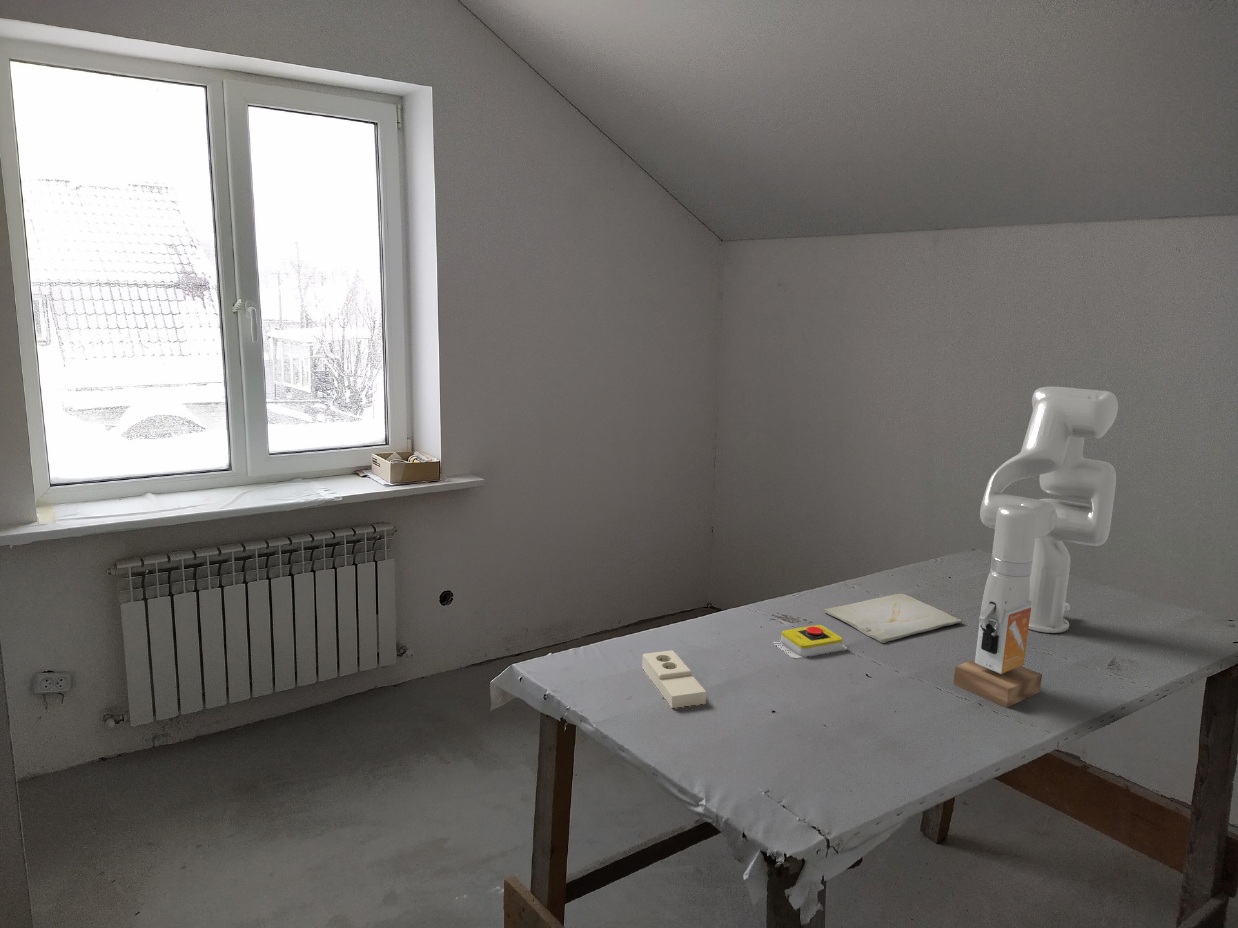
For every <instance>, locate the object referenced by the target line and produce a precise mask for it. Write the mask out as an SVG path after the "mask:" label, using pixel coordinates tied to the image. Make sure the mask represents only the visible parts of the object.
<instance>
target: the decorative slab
mask: <svg viewBox="0 0 1238 928" xmlns="http://www.w3.org/2000/svg"><path fill="white" fill-rule="evenodd" d="M823 612H824V613H825V614H828V615H829V616H832V617H833V618H836V619H838V620H839V621H842V622H844V623H846V624H848V625H849V626H851V627H853V628H854V629H856V630H857V631H858V632H860V633H862V634H863V635H865V636H867V637H869V638H872V639H874V640H876V641H878V642H879V643H880V644H886V643H888V642H892V641H895V640H899V639H902V638H905V637H908V636H911V635H915V634H919V633H920V634H921V633H925V632H929V631H933V630H936V629H940V628H942V627H943V628H944V627H946V626H947V627H948V626H952V625H955V624H962V623H963V620H962V619H960V618H958V617H955V616H953V615H951V614H949V613H946V612H945V611H943V610H941V609H938V608H936V607H935V606H932V605H930V604H927V603H925V602H923V601H921V600H918V599H916V598H914V597H912V596H909V595H907V594H904V593H895V594H890V595H886V596H882V597H877V598H876V597H875V598H872V599H867V600H863V601H857V602H853V603H849V604H844V605H838V606H834V607H828V608H825V609H823Z"/></svg>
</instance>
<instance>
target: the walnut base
mask: <svg viewBox="0 0 1238 928" xmlns="http://www.w3.org/2000/svg"><path fill="white" fill-rule="evenodd" d="M1042 677H1043V674H1042V673H1039V672H1038V671H1034V670H1032V669H1031V668H1030V669H1029V668H1027V667H1024V666H1019V667H1017V668H1014V669H1012V670H1009V671H1007V672H1005V673H1003V674H1000V673H998V672H995V671H993V670H990V669H988V668H986V667H983V666H981V665H979V664H976V663H975V658H974V659H970V660H967V661H966V662H963V663H960V664H958V665H956V666H955V667H954V675H953V685H954V686H957V687H959V688H961V689H964V690H965V691H968V692H970V693H972V694H975V695H976V696H979V697H982V698H984V699H986V700H988V701H990V702H992V703H994V704H997V705H999V706H1002V707H1004V708H1006V709H1007V708H1009V707H1012V706H1013V705H1015V704H1017V703H1019V702H1022V701H1024V700H1026V699H1029V698H1030V697H1032V696H1034V695H1037V694H1040V692H1041V687H1042V686H1041V685H1042V679H1043V678H1042Z"/></svg>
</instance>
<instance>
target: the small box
mask: <svg viewBox="0 0 1238 928" xmlns="http://www.w3.org/2000/svg"><path fill="white" fill-rule="evenodd" d="M995 612H996V611H995ZM995 612H994V614H993V615H992V616H991V617H990V618H993V619H996V620H998V618H997V616H996V613H995ZM1030 614H1031V607H1030V606H1025V607H1022V608H1020V609H1017V610H1014V611H1011V612H1008V613H1005V617H1004V621H1003V623H1002V624H1000V627H999V631H998V633H997V635H998V636H999V640H998V648H997V653H996V654H992V653H990V652H987V651H985V650H982V649H981V645H982V636H983V632H982V628H981V626H980V622H979V624H978V625H979V626H978V630H977V631H978V633H977V634H978V635H977V642H976V643H977V644H976V649H975V658H974V659H975V663H976V664H979V665H981V666H983V667H986V668H988V669H990V670H993V671H995V672H998V673H1000V674H1003V673H1005V672H1007V671H1009V670H1012V669H1014V668H1017V667H1019V666H1022V667H1024V665H1025V657H1026V651H1027V650H1026V649H1027V642H1028V641H1027V640H1028V635H1029V630H1030V629H1029V622H1030ZM980 615H981V613H980ZM989 624H991V626H992V627H993V629H994V626H995V624H996V623H994V622H991V621H990V623H989Z"/></svg>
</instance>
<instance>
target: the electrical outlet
mask: <svg viewBox="0 0 1238 928" xmlns="http://www.w3.org/2000/svg"><path fill="white" fill-rule="evenodd" d="M641 659H642V662H641V663H642V664H641V665H642V666H641V668H643V669H644V671H645V672H646V674H647V675H648V676H649V678H650V679H651V680H652V681H653V683H654V684H655V685H656V687H657V688H658V689H659V691H660V692H661V694H662V695H663V696H664V698H665V699H666V700H667V701H668V703H669V705H670V706H671V707H672V708H673V707H682V708H685V707H684V706H689V707H691V706H690V705H696V706H701V705H700V704H703V705H707V701H706V700H707V691H706V690H705V689H704V687H703V686H702V685H701V684H700V683H699V681H698V680H697V679H696V678H695V677H694V675H693V674H692V670H691V669H690V668H689V667H688V666H687V664H685V662H684V661H683V660H682V659H681V658H680V656H679V655H678V654H677V652H675V651H674V650H673V649H672V650H663V651H656V652H655V651H654V652H647V653H643V654H642V658H641ZM644 671H643V672H644ZM646 674H645V675H646ZM647 675H646V676H647ZM649 678H648V679H649ZM650 679H649V680H650ZM653 683H652V684H653ZM656 687H655V688H656ZM659 691H658V692H659ZM661 694H660V695H661ZM662 695H661V696H662ZM664 698H663V699H664ZM665 699H664V700H665ZM668 703H667V704H668ZM669 705H668V706H669ZM670 706H669V707H670ZM671 707H670V708H671Z"/></svg>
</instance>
